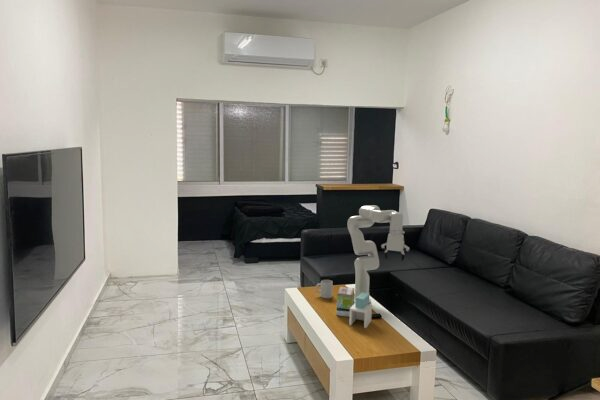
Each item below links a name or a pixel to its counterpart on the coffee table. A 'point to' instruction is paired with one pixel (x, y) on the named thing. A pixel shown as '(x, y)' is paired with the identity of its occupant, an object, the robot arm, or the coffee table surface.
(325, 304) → the coffee table surface
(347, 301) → the tea box
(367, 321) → the white arch block
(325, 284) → the mug
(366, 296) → the pale blue rectangular block
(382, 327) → the coffee table surface
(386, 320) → the coffee table surface
